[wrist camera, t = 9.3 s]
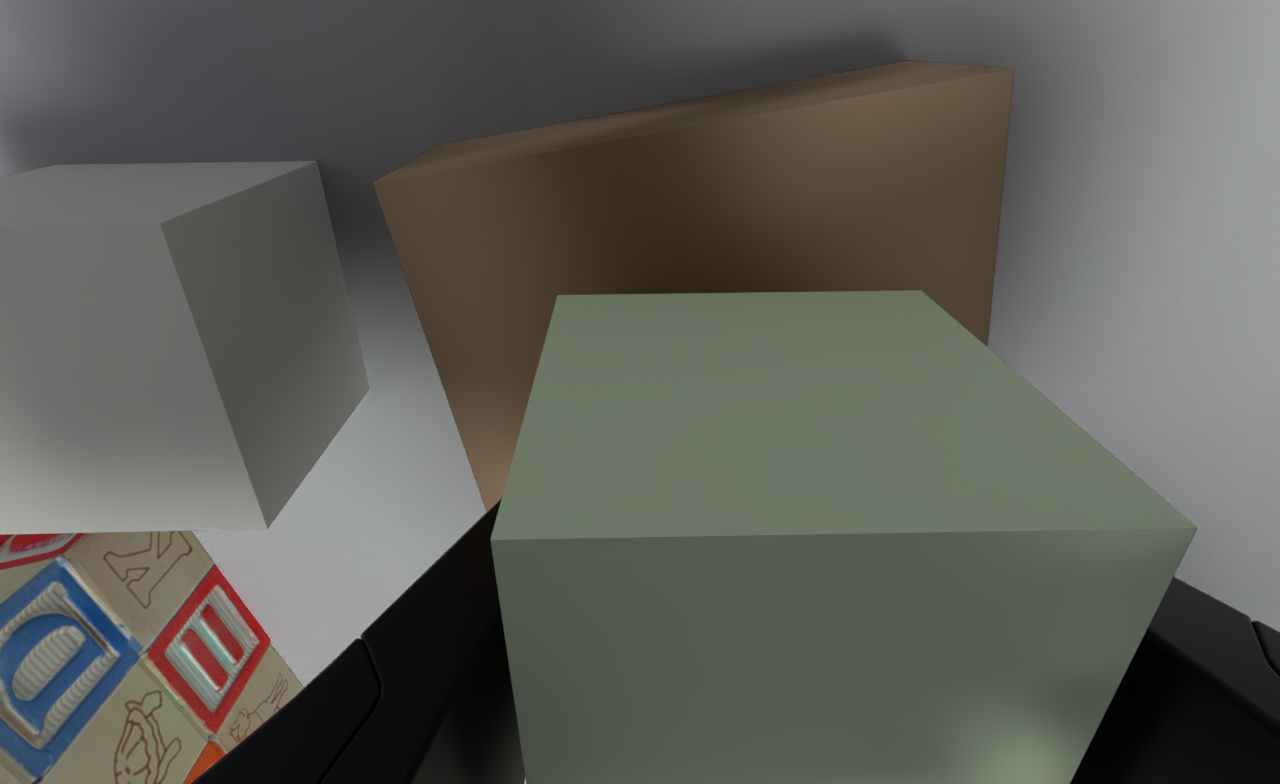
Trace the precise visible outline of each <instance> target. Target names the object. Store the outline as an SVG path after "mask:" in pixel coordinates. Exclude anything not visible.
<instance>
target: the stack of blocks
mask: <svg viewBox="0 0 1280 784" xmlns="http://www.w3.org/2000/svg"><path fill="white" fill-rule="evenodd" d="M303 688H304V687H303V686H302V685H301V683H300V682H299V681H298V679H297V678H296V676H295V675H294V674H293V672H292V671H291V670H290V669H289V667H288V666H287V665H286V663H285V662H284V660H283V659H282V658H281V656H280V655H279V654H278V652H277V651H276V650H275V649H274V647H273V646H272V645H271V644H270V638H269V637H268V635H267V634H266V633H265V631H264V630H263V629H262V627H261V626H260V624H259V623H258V622H257V620H256V619H255V618H254V616H253V615H252V614H251V612H250V611H249V610H248V608H247V607H246V606H245V604H244V603H243V602H242V600H241V599H240V597H239V596H238V595H237V593H236V592H235V591H234V589H233V588H232V587H231V585H230V584H229V583H228V581H227V580H226V578H225V577H224V576H223V575H222V573H221V572H220V570H219V569H218V568H217V566H216V565H215V564H214V563H213V561H212V559H211V557H210V556H209V554H208V553H207V552H206V550H205V549H204V547H203V546H202V545H201V543H200V542H199V541H198V539H197V538H196V536H195V535H194V534H193V532H192V531H146V532H99V533H51V534H4V535H0V784H190V783H192V782H193V781H194V780H195V779H196V778H198V777H199V776H200V775H201V774H203V773H204V772H205V771H206V770H207V769H209V768H210V767H211V766H212V765H214V764H215V763H216V762H217V761H218V760H220V759H221V758H222V757H223V756H225V755H226V754H227V753H228V752H229V751H231V750H232V749H233V748H234V747H236V746H237V745H238V744H239V743H240V742H242V741H243V740H244V739H245V738H247V737H248V736H249V735H250V734H251V733H252V732H254V731H255V730H256V729H257V728H258V727H260V726H261V725H262V724H263V723H264V722H265V721H267V720H268V719H269V718H270V717H271V716H272V715H274V714H275V713H276V712H277V711H278V710H280V709H281V708H282V707H283V706H284V705H285V704H287V703H288V702H289V701H290V700H291V699H292V698H294V697H295V696H296V695H297V694H298V693H299V692H300V691H301V690H302V689H303Z"/></svg>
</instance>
